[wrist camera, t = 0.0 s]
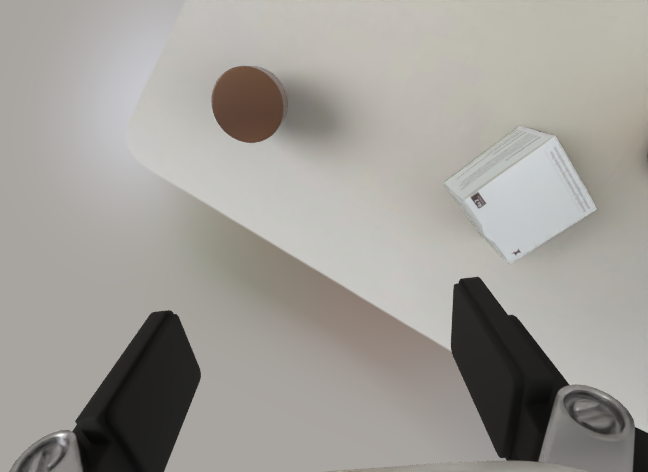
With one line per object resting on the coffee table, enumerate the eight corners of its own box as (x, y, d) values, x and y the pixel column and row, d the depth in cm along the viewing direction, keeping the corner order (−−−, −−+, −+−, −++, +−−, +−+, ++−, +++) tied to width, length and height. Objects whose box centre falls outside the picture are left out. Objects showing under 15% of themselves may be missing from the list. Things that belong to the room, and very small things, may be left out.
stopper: (224, 71, 27) (202, 71, 22) (284, 62, 26) (276, 60, 21) (239, 133, 29) (221, 147, 24) (295, 125, 28) (289, 138, 24)
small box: (559, 189, 31) (601, 211, 26) (483, 240, 33) (508, 267, 29) (520, 122, 28) (558, 133, 24) (440, 182, 31) (460, 202, 26)
